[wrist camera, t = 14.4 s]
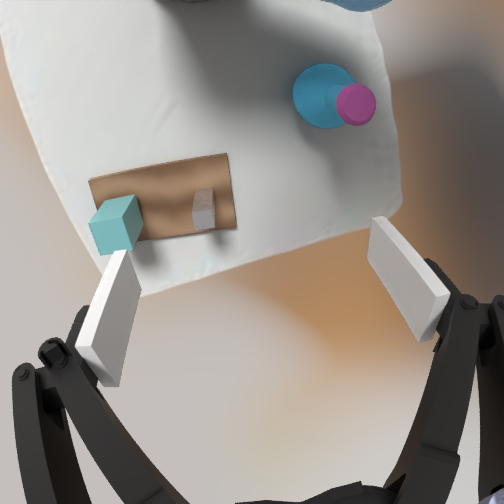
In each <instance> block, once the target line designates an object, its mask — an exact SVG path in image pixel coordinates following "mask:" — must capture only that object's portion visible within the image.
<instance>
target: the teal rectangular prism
mask: <svg viewBox="0 0 504 504" xmlns="http://www.w3.org/2000/svg"><path fill="white" fill-rule="evenodd" d="M88 224H89V227H90V230H91V232H92V235H93V238H94V240H95V243H96V246H97V248H98V251H99V253H100V256H101V255H107V254H113V253H114V251H119V250H125V249H127V251H132V250H133V249H134V247H135V244H136V242H137V239H138V237H139V234H140V232H141V229H142V227H143V225H144V224H143V220H142V217H141V213H140V210H139V206H138V203H137V199H136V195H135V194H134V195H129V196H124V197H119V198H114V199H109V200H105V201H104V202H103V204H102V205H101V207H100V208H99V209H98V211H97V212H96V213H95V215H94V216H93V218H92V219H91V220H90V222H89V223H88Z"/></svg>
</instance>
